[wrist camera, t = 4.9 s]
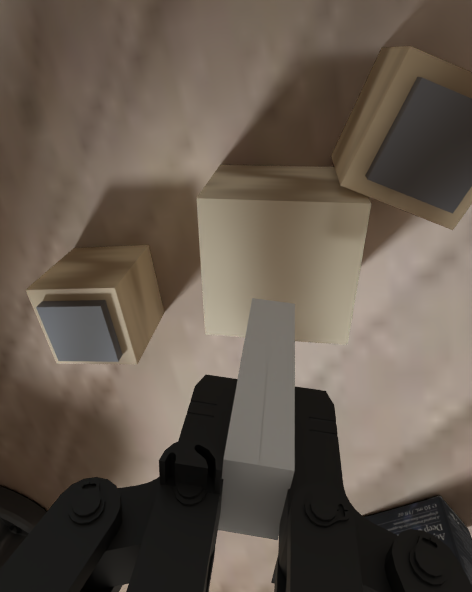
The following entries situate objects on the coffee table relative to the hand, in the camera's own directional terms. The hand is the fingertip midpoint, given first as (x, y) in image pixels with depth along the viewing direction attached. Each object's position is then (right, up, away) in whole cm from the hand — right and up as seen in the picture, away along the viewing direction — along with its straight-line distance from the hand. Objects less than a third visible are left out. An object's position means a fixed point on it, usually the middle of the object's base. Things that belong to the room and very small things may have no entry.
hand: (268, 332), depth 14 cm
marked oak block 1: (+7, +10, +5) cm, 13 cm away
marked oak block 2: (-9, +2, +12) cm, 15 cm away
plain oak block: (+1, +5, +8) cm, 10 cm away
